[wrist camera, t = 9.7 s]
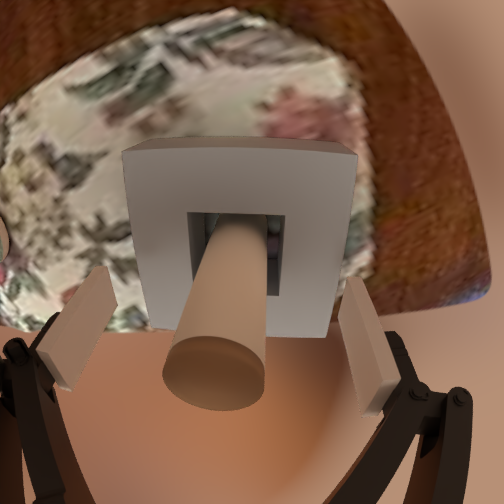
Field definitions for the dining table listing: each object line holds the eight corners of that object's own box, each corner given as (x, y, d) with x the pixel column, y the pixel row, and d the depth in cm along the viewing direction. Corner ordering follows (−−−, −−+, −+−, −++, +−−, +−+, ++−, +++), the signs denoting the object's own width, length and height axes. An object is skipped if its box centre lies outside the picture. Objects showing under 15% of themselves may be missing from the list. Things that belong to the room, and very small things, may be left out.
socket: (150, 139, 21) (121, 151, 16) (339, 142, 20) (358, 155, 16) (167, 291, 28) (151, 327, 23) (318, 299, 27) (325, 337, 23)
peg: (216, 200, 23) (153, 346, 10) (268, 202, 23) (266, 355, 10) (217, 246, 25) (171, 405, 12) (266, 248, 25) (261, 413, 12)
